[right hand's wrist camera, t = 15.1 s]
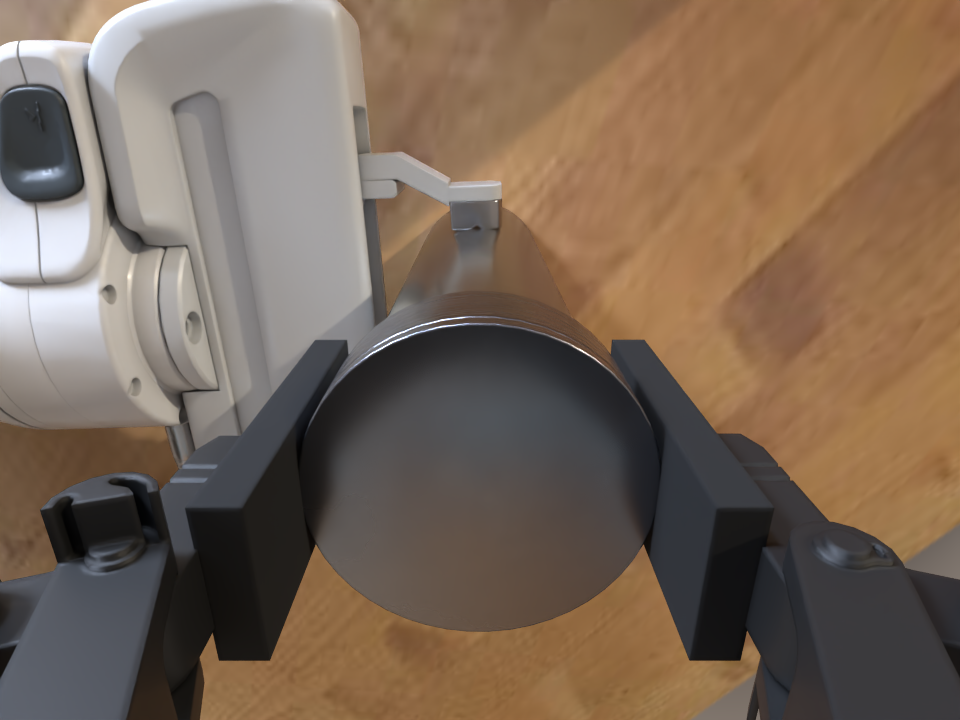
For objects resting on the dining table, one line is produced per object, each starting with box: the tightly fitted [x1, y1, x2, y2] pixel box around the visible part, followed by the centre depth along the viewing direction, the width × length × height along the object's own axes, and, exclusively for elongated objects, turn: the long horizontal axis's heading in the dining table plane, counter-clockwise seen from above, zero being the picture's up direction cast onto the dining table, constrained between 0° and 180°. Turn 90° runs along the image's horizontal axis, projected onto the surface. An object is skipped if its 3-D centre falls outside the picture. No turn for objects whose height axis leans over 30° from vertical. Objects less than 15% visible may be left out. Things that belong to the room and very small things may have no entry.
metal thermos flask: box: [388, 207, 571, 317], centre depth 19 cm, size 6×6×18 cm
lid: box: [298, 291, 661, 632], centre depth 11 cm, size 6×6×2 cm
